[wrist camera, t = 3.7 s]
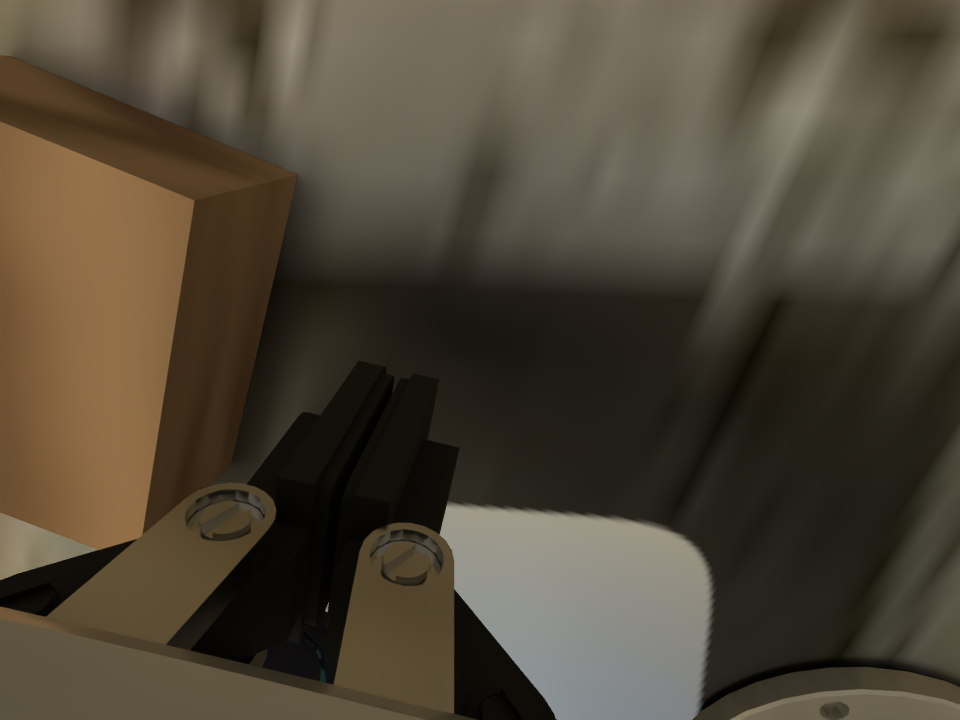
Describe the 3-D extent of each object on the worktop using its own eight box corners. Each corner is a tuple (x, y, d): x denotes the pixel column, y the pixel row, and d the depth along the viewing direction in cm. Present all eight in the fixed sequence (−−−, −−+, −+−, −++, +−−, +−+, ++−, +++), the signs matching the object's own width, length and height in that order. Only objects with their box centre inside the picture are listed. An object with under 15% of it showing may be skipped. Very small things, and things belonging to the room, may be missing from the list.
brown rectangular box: (301, 173, 16) (194, 200, 11) (235, 459, 20) (137, 564, 15) (17, 56, 15) (-212, 35, 11) (11, 371, 19) (-158, 451, 15)
